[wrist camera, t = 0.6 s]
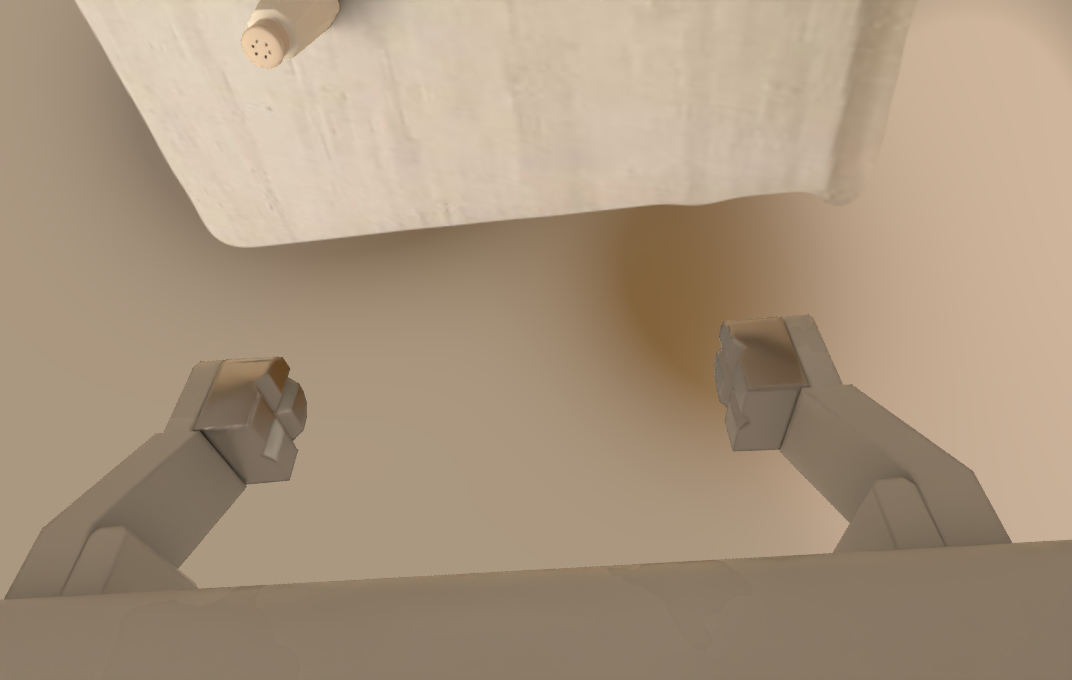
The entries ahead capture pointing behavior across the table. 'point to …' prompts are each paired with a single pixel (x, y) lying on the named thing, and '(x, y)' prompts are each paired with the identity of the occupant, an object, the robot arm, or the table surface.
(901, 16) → the table surface
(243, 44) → the pepper shaker
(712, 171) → the table surface
